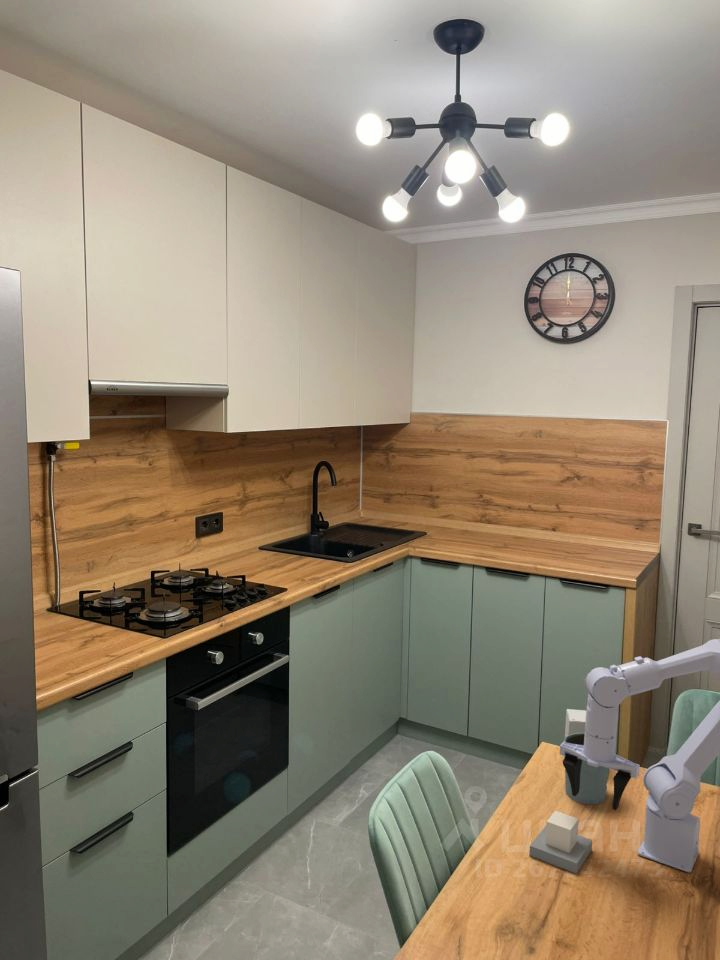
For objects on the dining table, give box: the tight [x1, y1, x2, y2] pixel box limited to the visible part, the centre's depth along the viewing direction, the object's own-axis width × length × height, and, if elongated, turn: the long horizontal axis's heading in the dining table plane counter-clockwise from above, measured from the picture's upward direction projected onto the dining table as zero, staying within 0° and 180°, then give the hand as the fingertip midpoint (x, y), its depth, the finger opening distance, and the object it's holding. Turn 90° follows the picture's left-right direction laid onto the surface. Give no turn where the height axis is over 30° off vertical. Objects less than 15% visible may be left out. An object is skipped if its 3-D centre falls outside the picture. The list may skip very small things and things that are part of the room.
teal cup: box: [563, 733, 610, 806], centre depth 159 cm, size 10×10×12 cm
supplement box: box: [563, 708, 586, 759], centre depth 172 cm, size 7×7×13 cm
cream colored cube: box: [545, 810, 580, 853], centre depth 138 cm, size 5×5×4 cm
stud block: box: [529, 825, 593, 875], centre depth 138 cm, size 9×9×4 cm
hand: (595, 800), depth 139 cm, fingers open, 7 cm apart
